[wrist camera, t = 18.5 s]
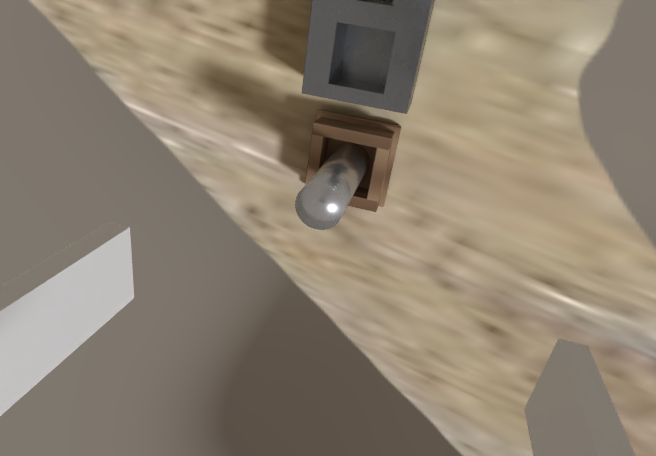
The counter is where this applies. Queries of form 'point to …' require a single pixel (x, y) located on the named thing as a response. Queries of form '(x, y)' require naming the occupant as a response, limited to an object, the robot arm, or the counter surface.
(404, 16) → the chuck block
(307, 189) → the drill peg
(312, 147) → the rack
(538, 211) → the counter surface
